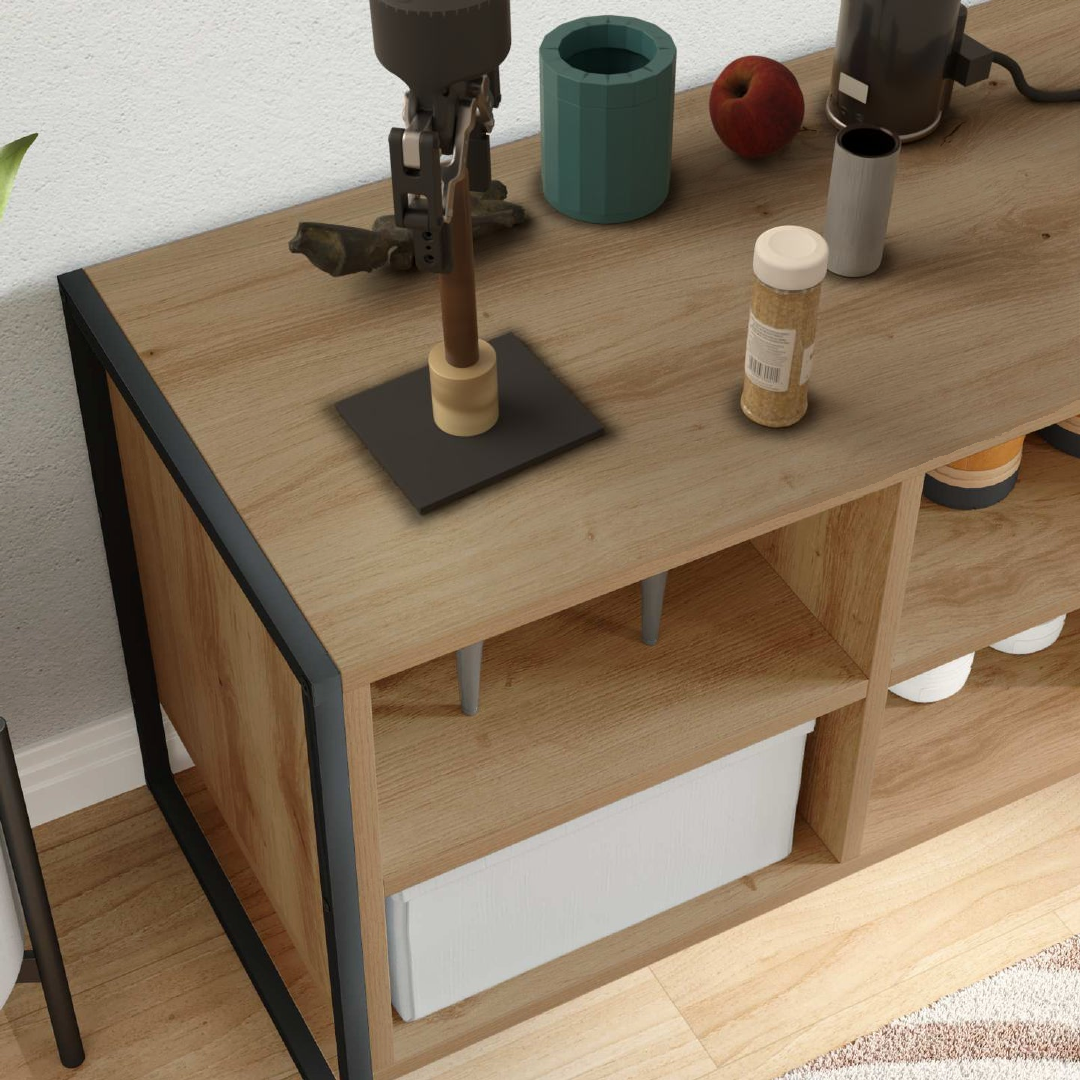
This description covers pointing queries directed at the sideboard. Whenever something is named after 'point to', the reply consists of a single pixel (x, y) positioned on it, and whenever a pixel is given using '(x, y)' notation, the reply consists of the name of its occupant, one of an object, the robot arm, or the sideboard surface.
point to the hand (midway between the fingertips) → (455, 227)
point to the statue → (389, 236)
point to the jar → (606, 117)
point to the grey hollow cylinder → (860, 197)
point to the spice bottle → (783, 324)
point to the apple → (756, 106)
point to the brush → (462, 340)
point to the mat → (474, 461)
